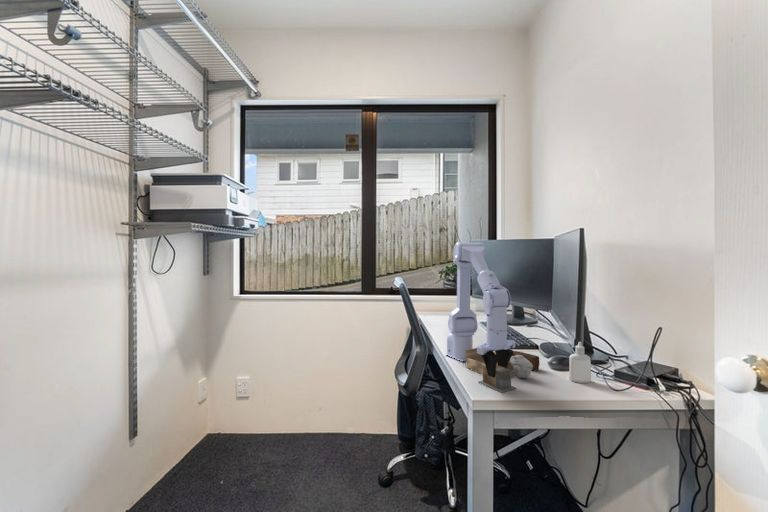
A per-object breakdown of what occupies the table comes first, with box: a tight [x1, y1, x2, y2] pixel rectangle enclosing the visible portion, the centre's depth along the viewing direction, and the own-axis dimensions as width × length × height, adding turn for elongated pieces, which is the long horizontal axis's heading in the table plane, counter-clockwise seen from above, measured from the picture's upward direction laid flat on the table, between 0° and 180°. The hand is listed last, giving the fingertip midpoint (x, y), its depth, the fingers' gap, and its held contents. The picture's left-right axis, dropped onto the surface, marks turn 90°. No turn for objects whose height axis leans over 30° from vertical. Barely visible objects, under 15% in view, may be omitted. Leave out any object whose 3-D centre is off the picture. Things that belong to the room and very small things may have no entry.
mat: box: [478, 379, 517, 394], centre depth 101 cm, size 9×6×1 cm, turn 31°
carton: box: [465, 347, 515, 375], centre depth 116 cm, size 11×16×6 cm
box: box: [482, 364, 512, 390], centre depth 101 cm, size 7×4×5 cm, turn 31°
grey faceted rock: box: [510, 355, 533, 379], centre depth 107 cm, size 6×7×7 cm
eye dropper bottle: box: [568, 341, 592, 384], centre depth 104 cm, size 4×6×12 cm
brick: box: [512, 350, 540, 372], centre depth 118 cm, size 11×4×5 cm, turn 35°
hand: (496, 374), depth 101 cm, fingers closed on box, 4 cm apart
